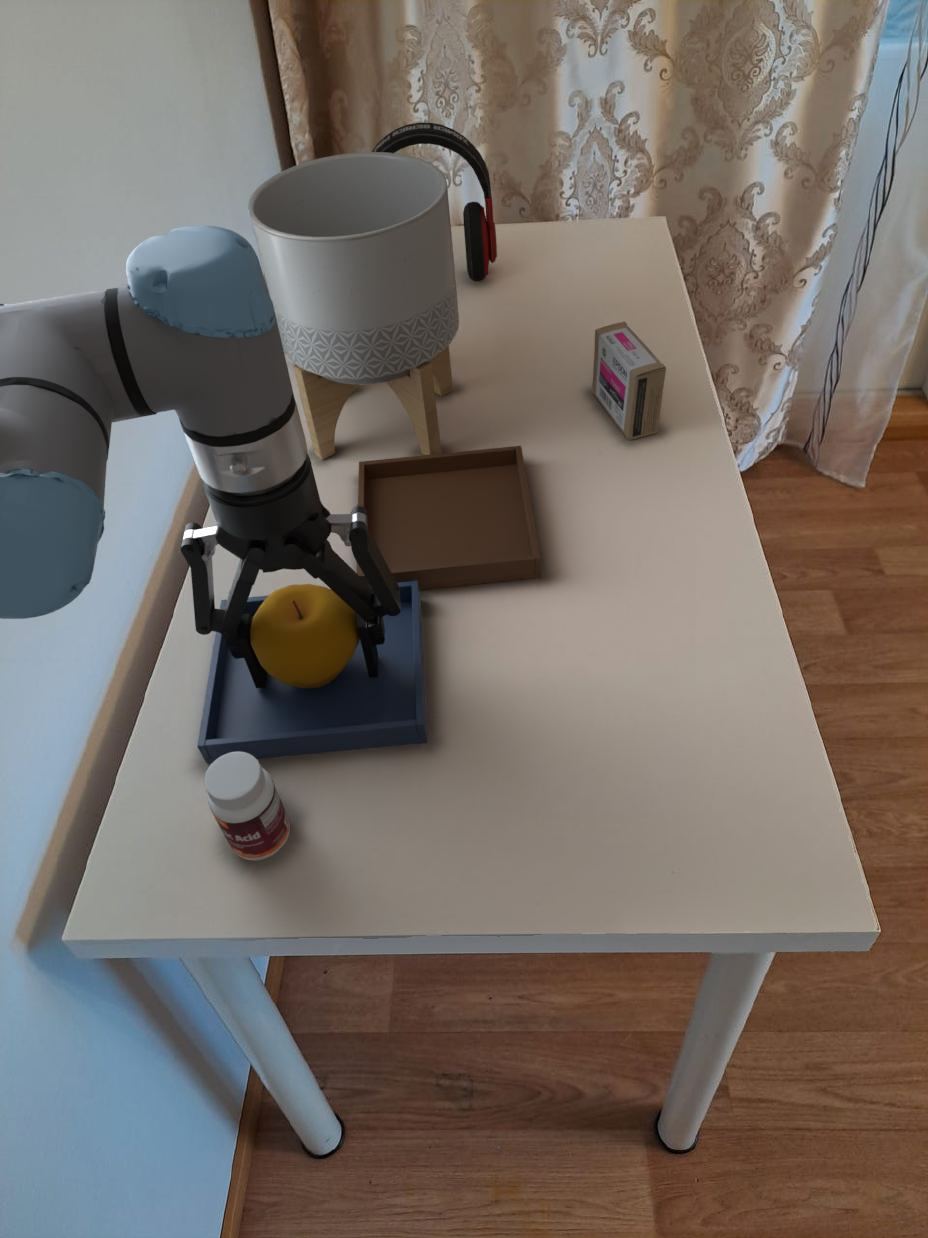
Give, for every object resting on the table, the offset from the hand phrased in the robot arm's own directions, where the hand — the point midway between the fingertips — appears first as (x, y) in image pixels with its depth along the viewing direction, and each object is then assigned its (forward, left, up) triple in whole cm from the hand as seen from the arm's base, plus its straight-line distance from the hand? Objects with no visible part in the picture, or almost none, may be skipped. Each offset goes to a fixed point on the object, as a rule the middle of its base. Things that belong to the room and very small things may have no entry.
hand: (317, 670), depth 79 cm
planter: (+6, +37, -1) cm, 38 cm away
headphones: (+13, +69, -1) cm, 70 cm away
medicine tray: (+12, +18, -1) cm, 22 cm away
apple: (0, 0, 0) cm, 0 cm away
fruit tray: (0, 0, -1) cm, 1 cm away
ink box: (+33, +34, -1) cm, 47 cm away
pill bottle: (-4, -15, -1) cm, 16 cm away
